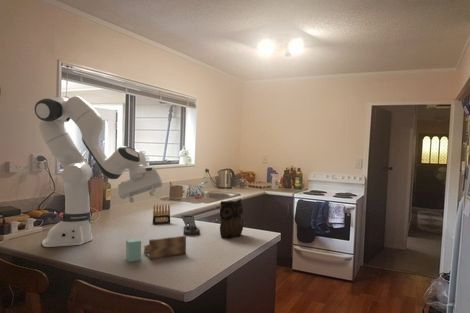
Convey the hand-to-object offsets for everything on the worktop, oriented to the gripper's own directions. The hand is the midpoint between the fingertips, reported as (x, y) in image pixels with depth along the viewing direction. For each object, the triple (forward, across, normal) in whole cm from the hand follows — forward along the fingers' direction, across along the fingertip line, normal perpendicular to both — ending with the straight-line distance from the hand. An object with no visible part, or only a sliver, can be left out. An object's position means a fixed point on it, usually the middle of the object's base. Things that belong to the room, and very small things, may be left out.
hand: (141, 198), depth 155 cm
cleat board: (+21, +3, +16) cm, 27 cm away
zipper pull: (-8, +11, +48) cm, 50 cm away
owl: (+6, +32, +44) cm, 55 cm away
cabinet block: (+23, -9, +9) cm, 27 cm away
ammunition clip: (-25, -6, +56) cm, 61 cm away
